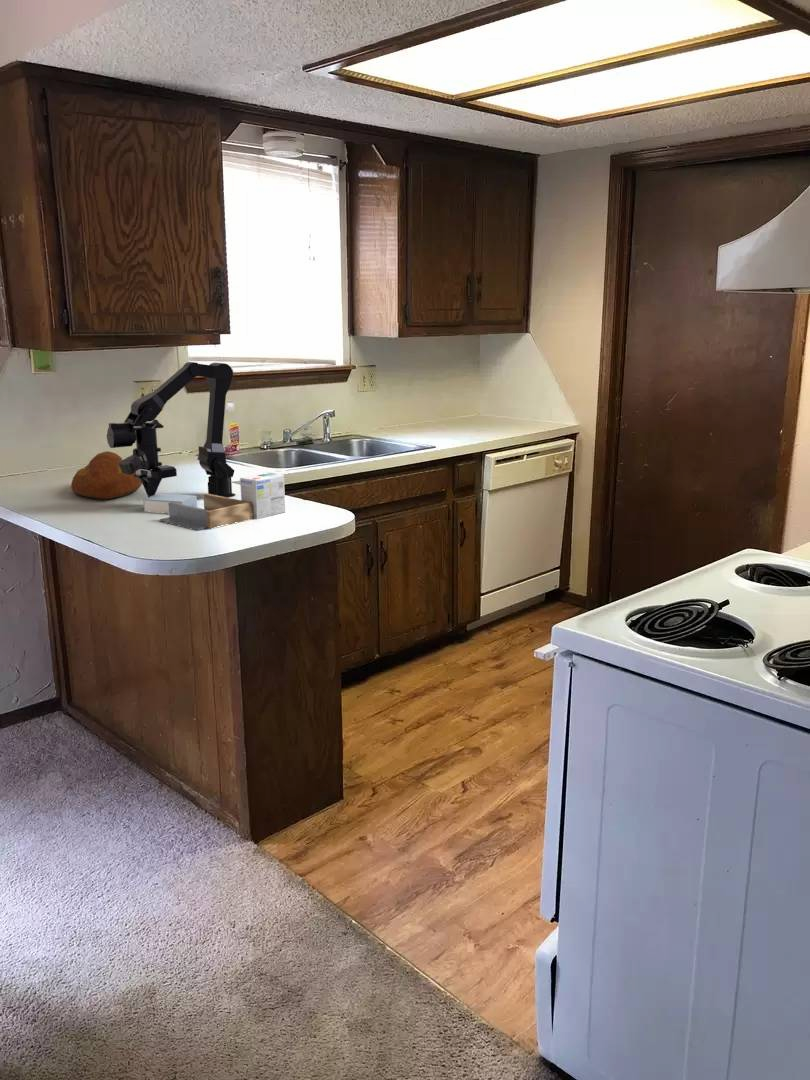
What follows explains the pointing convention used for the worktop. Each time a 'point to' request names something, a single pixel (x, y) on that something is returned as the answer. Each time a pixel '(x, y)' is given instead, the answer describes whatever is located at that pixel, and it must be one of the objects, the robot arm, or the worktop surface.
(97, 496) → the bread
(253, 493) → the light bulb box
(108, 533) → the worktop surface
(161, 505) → the boxed book
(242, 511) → the oak shelf corner
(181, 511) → the grey angle iron
